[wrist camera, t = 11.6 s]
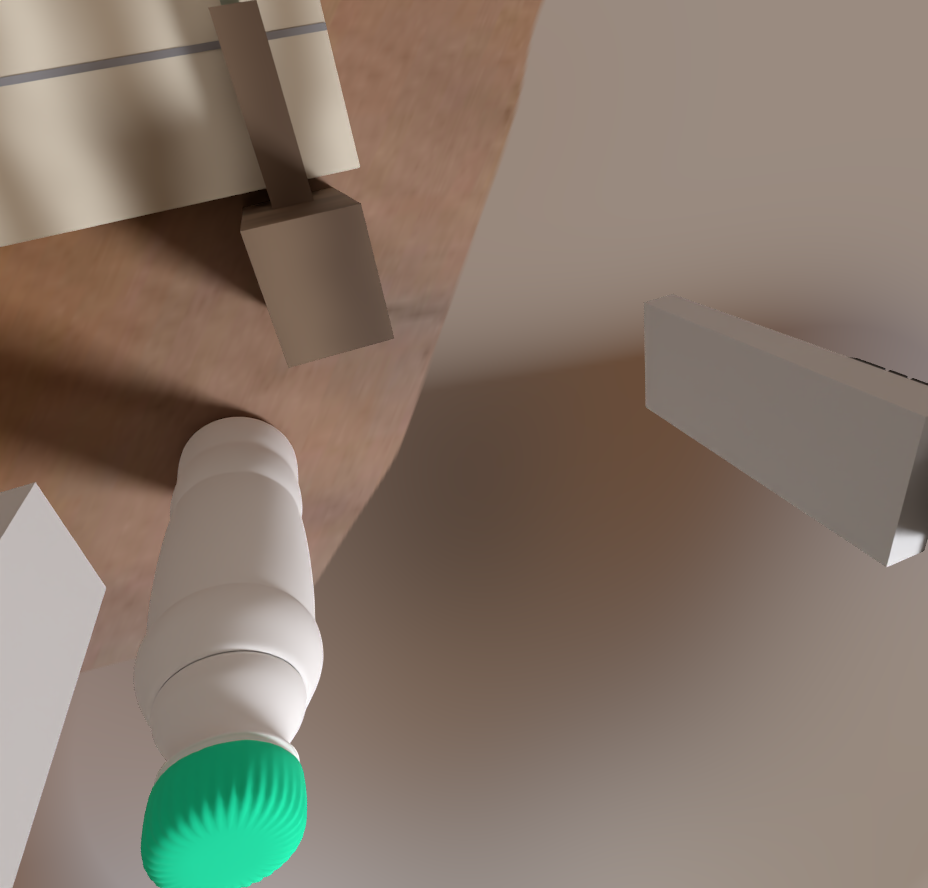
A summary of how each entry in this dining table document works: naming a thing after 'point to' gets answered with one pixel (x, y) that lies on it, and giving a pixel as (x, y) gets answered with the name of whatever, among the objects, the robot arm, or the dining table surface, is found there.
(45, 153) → the board
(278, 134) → the block with long handle
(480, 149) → the dining table surface
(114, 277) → the dining table surface
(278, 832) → the water bottle
